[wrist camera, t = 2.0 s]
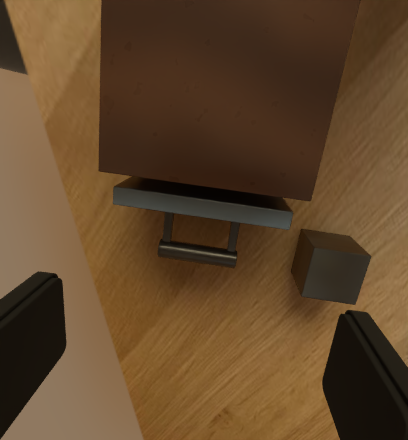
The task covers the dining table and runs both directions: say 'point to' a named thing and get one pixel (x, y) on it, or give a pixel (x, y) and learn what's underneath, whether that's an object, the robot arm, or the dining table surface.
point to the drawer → (202, 214)
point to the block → (329, 266)
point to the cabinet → (221, 90)
